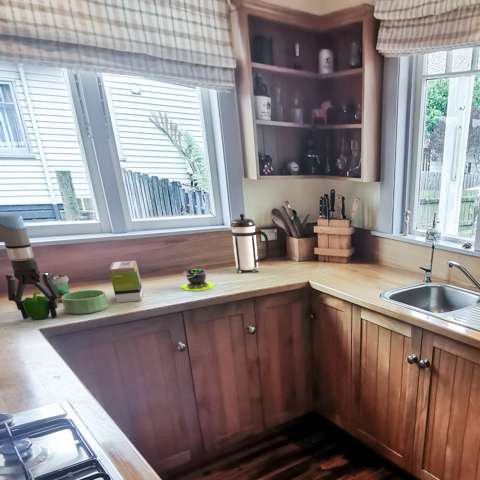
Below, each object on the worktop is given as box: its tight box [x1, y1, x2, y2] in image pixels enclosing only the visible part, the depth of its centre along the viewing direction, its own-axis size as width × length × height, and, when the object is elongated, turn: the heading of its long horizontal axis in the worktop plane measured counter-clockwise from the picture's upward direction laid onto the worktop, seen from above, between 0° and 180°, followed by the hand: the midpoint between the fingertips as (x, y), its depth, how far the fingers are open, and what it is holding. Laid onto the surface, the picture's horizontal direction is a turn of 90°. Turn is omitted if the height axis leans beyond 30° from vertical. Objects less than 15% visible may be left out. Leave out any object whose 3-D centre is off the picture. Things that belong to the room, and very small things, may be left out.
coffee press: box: [227, 213, 270, 274], centre depth 251 cm, size 17×16×30 cm
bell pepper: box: [22, 290, 51, 320], centre depth 177 cm, size 8×8×10 cm
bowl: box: [61, 289, 109, 315], centre depth 189 cm, size 15×15×6 cm
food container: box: [49, 273, 70, 303], centre depth 201 cm, size 12×6×10 cm, turn 34°
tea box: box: [108, 260, 144, 304], centre depth 203 cm, size 15×10×15 cm
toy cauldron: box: [180, 262, 215, 292], centre depth 222 cm, size 15×15×11 cm
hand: (40, 317), depth 179 cm, fingers open, 9 cm apart
